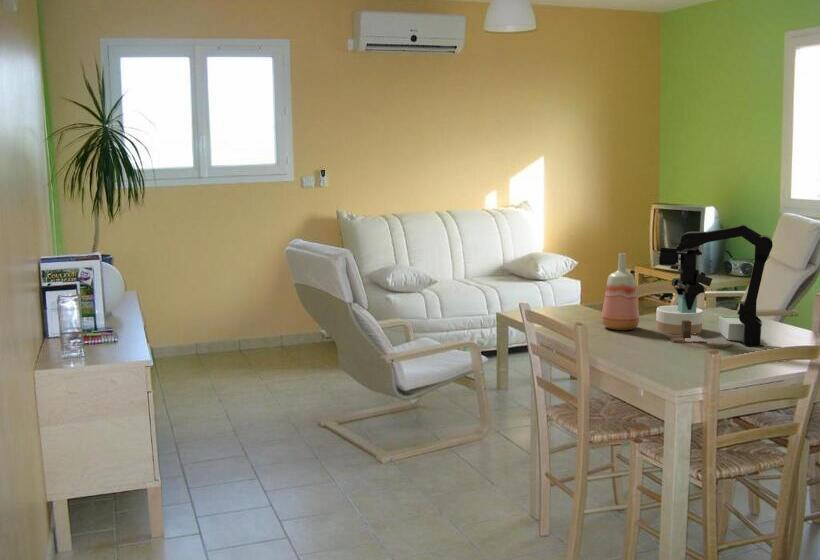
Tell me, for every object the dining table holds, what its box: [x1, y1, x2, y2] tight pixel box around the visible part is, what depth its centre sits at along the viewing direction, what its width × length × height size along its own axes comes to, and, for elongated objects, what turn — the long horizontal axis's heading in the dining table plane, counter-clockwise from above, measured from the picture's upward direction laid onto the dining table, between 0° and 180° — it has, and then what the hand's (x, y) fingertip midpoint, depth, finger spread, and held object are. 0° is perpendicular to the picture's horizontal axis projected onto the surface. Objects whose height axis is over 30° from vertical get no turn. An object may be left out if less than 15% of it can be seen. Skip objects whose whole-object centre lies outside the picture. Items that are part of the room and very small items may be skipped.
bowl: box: [655, 304, 704, 335], centre depth 344 cm, size 17×17×8 cm
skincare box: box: [717, 315, 745, 342], centre depth 332 cm, size 8×7×16 cm
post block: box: [665, 320, 706, 343], centre depth 327 cm, size 9×12×7 cm
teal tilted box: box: [676, 294, 698, 313], centre depth 325 cm, size 5×5×6 cm
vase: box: [600, 252, 640, 331], centre depth 345 cm, size 14×14×30 cm
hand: (686, 308), depth 325 cm, fingers closed on teal tilted box, 5 cm apart
